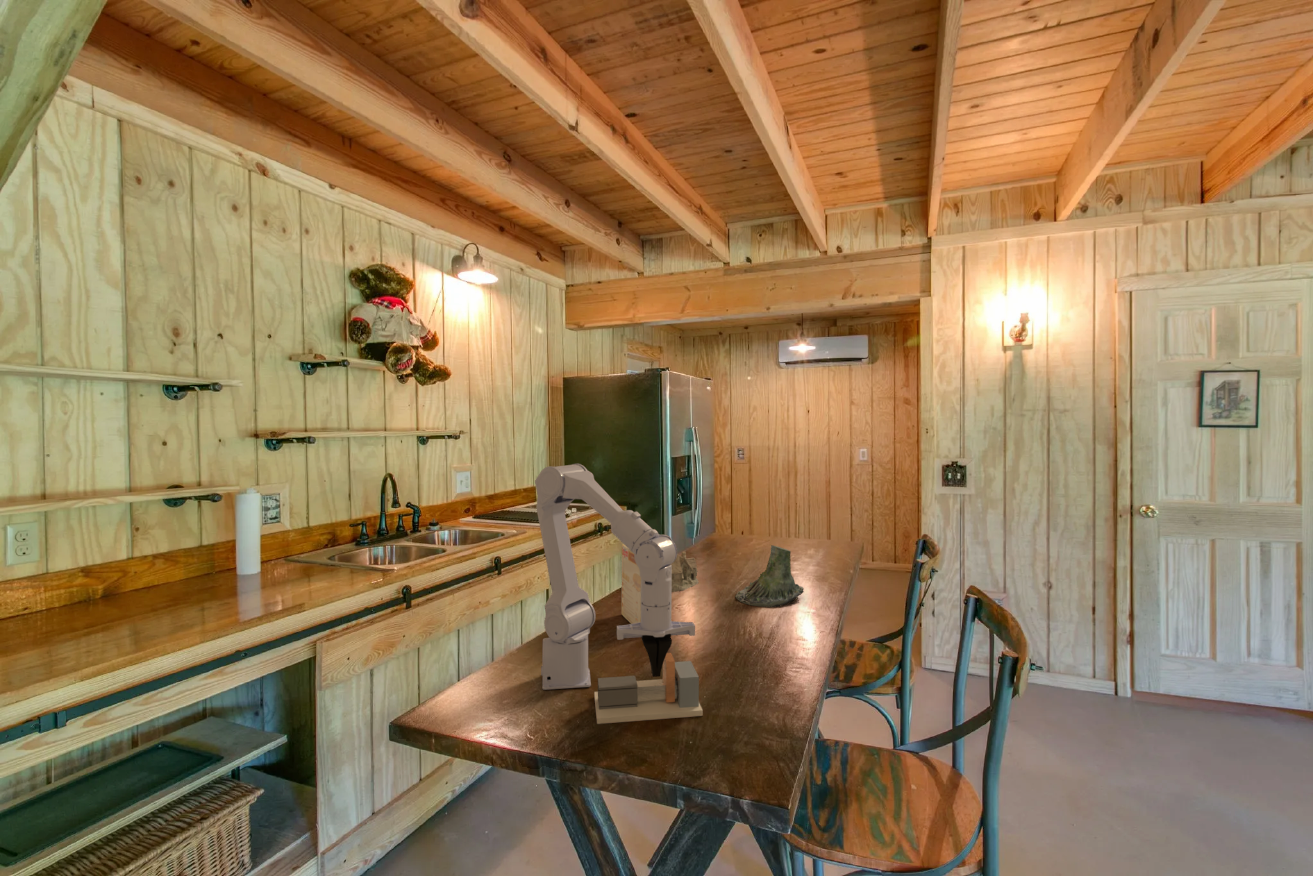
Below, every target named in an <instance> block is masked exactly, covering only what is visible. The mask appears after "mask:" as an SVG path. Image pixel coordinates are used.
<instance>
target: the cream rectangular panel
mask: <svg viewBox="0 0 1313 876" xmlns="http://www.w3.org/2000/svg"><path fill="white" fill-rule="evenodd" d="M637 681H638V680H637V679H636V675H625V676H610V677H597V691H593V692H594V697H593V698H594V703H595V704H594V706H595V716H596V724H597V725H603V724H612V723H627V722H639V721H640V722H641V721H653V720H665V719H675V718H677V719H678V718H690V717H691V718H693V717H702V716H704V715H703V714H704V713H703V707H702V705H701V704H700V702H699V706H698V707H684V708H680V707H679V704H678V698H675V702H667V703H666V700H665V699H661V700H647V701H637V695H638V688H636V687H638V685H637Z"/></svg>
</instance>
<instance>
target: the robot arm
mask: <svg viewBox="0 0 1313 876" xmlns="http://www.w3.org/2000/svg"><path fill="white" fill-rule="evenodd" d="M534 483H535V489H536V495H537V500H536V514H537V518H538V519H537V520H538V523H539V529H540V534H541V538H542V545H543V550H544V557H545V560H546V566H547V572H548V576H549V583H550V587H551V594H550V596H549V598H548V599H547V601H546V602H545V605H544V610H545V617H544V629H545V632H546V634H547V636H548V637H544V638H543V639H542V656H541V657H542V665H541V667H540V668H541V669H540V670H541V671H540V676H542V687H541V688H542V690H544V691H545V690H547V691H548V690H559V689H562V690H563V689H575V688H589V687H592V683H591V671H590V668H589V634H590V633H591V628H592V627H593V625H594V624H595V621H596V616H597V615H596V610H595V608H594V606H593V605H592V603H591V601H590V597H589V593H588V592H587V591H585V589H584V588H581V587H580V585H579V580H578V576H577V570H576V565H575V560H574V554H573V550H572V549H573V548H572V545H571V539H570V534H569V528H568V523H567V518H566V511H567V509H568V507H570V505H571V504H572V502H573V501H574V500H582V501H583V502H584V503H586V504H587V505H588V506H589V507H591V508H592V509H593V510H594V511H595V512H597V513H598V514H599V515H601V517H602V518H604V519H605V520H606V521H607V522H609V523H610V531H611V534H612V535H614V537H616V538H617V539H618V540H619V541H620V542H621V543H622V544H624V545H625V546H626V547H627V548H628V549H629V550H631V551H632V552H633V553H634V554H635V555H634V557H635V562H636V564H637V566H638V567H639V570H640V577H641V622H639V623H634V624H631V623H629V624H624V625H622V624H621V625H616V639H617V640H620V641H621V640H624V639H629V638H630V639H631V638H632V639H633V638H634V639H635V638H641V641H642V643H643V646H644V648H645V650H646V653H647V656H648V659H649V663H650V664H649V665H650V669H651V671H650V672H651V675H652V677H653V678H655V677H657V678H658V677H661V675H662V674H661V673H662V670H663V662H664V659H665V656H666V654H667V653H669V651H670V648H671V647H672V643H673V640H672V636H684V635H685V636H689V637H690V636H691V637H692V636H693V637H694V636H696V625H695V622H693V621H692V622H691V621H675V620H674V621H673V620H672V596H673V595H672V594H673V592H672V565H670V564H672V563H673V562H674V561H675V559H676V557H677V554H678V548H677V547H678V546H677V545H676V543H675V541H674V540H673V539H672V537H671V536H669V535H667V534H659V532H658V531H657V530H656V529H655V528H654V529H653V528H652V527H651V526H650V525H648V523H646V522H645V521H644V520H643V519H642V518H641V516H642V515H641V514H640V513H639V512H638V511H633V510H632V509H627V510H625V509H624V510H623V508H622V507H621V506H620V505H619V504H618V503H617V502H616V501H615V500H614V499H613V498H612V497H611V495H609V494H608V492H606V491H605V489H604V488H603V487H602V486H601V485H600V484H599V483H598V482H597V481H596V480H595V476H594V474H593V473H592V472H591V471H589V470H588V469H587V468H586V467H585V466H584V465H582V464H581V463H572V464H568V465H559V466H558V465H557V466H554V465H553V466H551V465H549V466H545V467H544V468H543V469H542V470H541V471H540V472H539V474H538V476H537V477H536V478H535V480H534ZM669 565H670V566H669ZM666 566H667V567H666Z"/></svg>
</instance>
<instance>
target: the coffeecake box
mask: <svg viewBox="0 0 1313 876" xmlns="http://www.w3.org/2000/svg"><path fill="white" fill-rule="evenodd" d="M634 555H635V554H634V553H633V552H632V551H631V550H629V549H628V548H627V547H626V546H625V545H624V544H623V543H622V544H621V615H622V616H623V618H624V619H626V620H627V622H629V624H634V623H639V622H641V577H640V570H639V567H638V566H637V564H636V562H635V557H634Z"/></svg>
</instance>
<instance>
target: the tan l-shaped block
mask: <svg viewBox="0 0 1313 876" xmlns="http://www.w3.org/2000/svg"><path fill="white" fill-rule="evenodd" d="M675 662H676V660H675V658H674V656H673V654H672V652H667V654H666V656H665V659H664V662H663V665H662V678H660V679H646V680H645V679H644V680H636V681H637V685H638V687H636V688H638V695H637V701H647V700H661V699H665V700H666V703H667V702H675V698H678V680H677V678H675Z"/></svg>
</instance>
